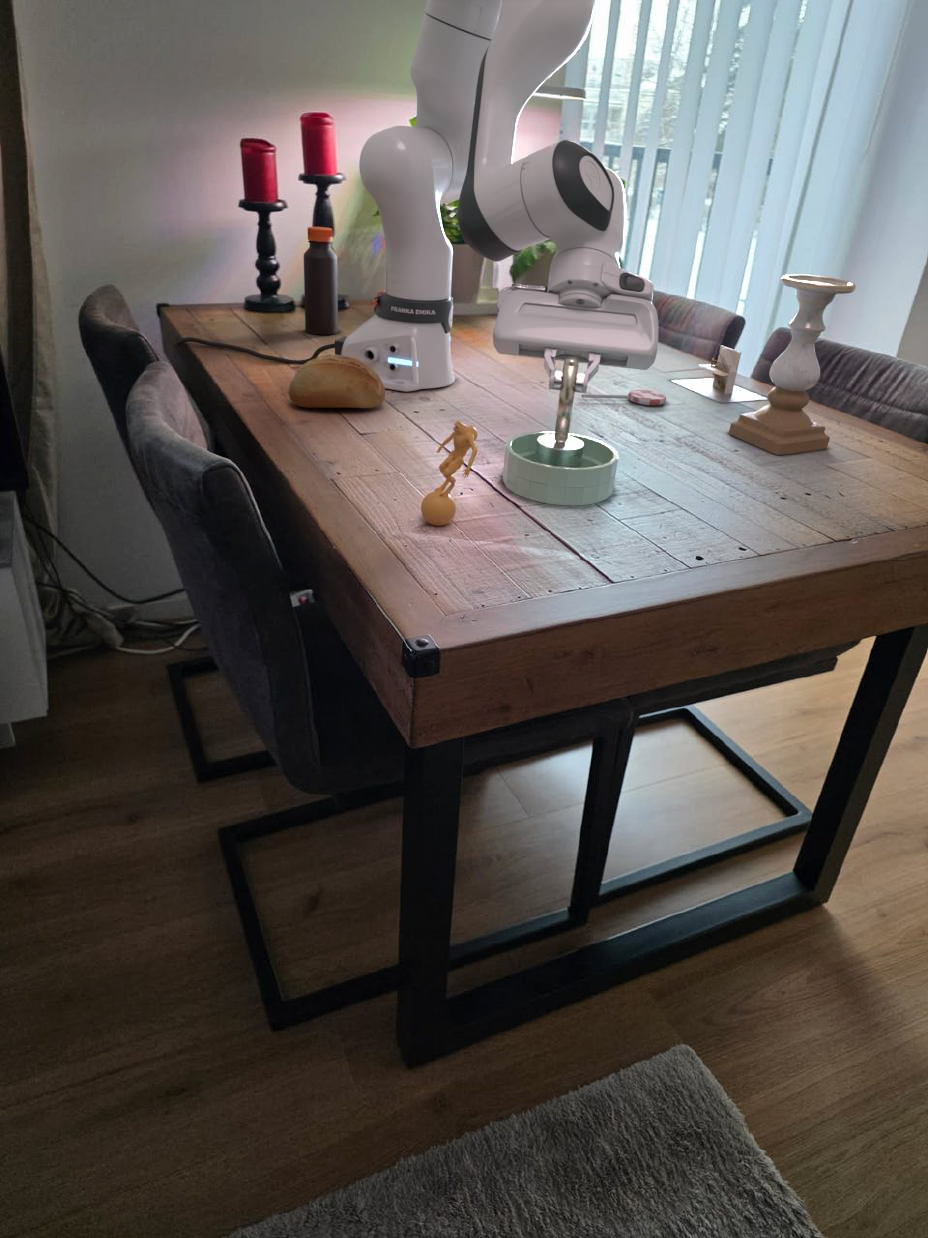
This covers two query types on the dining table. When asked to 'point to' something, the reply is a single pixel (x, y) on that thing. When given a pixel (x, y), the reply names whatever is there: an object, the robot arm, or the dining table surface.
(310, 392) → the bread roll
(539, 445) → the meat pounder
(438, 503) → the figurine
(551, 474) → the bowl
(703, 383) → the architectural model
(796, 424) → the candle holder
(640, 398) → the lollipop
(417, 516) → the dining table surface
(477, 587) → the dining table surface
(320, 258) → the bottle
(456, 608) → the dining table surface
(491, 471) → the dining table surface
